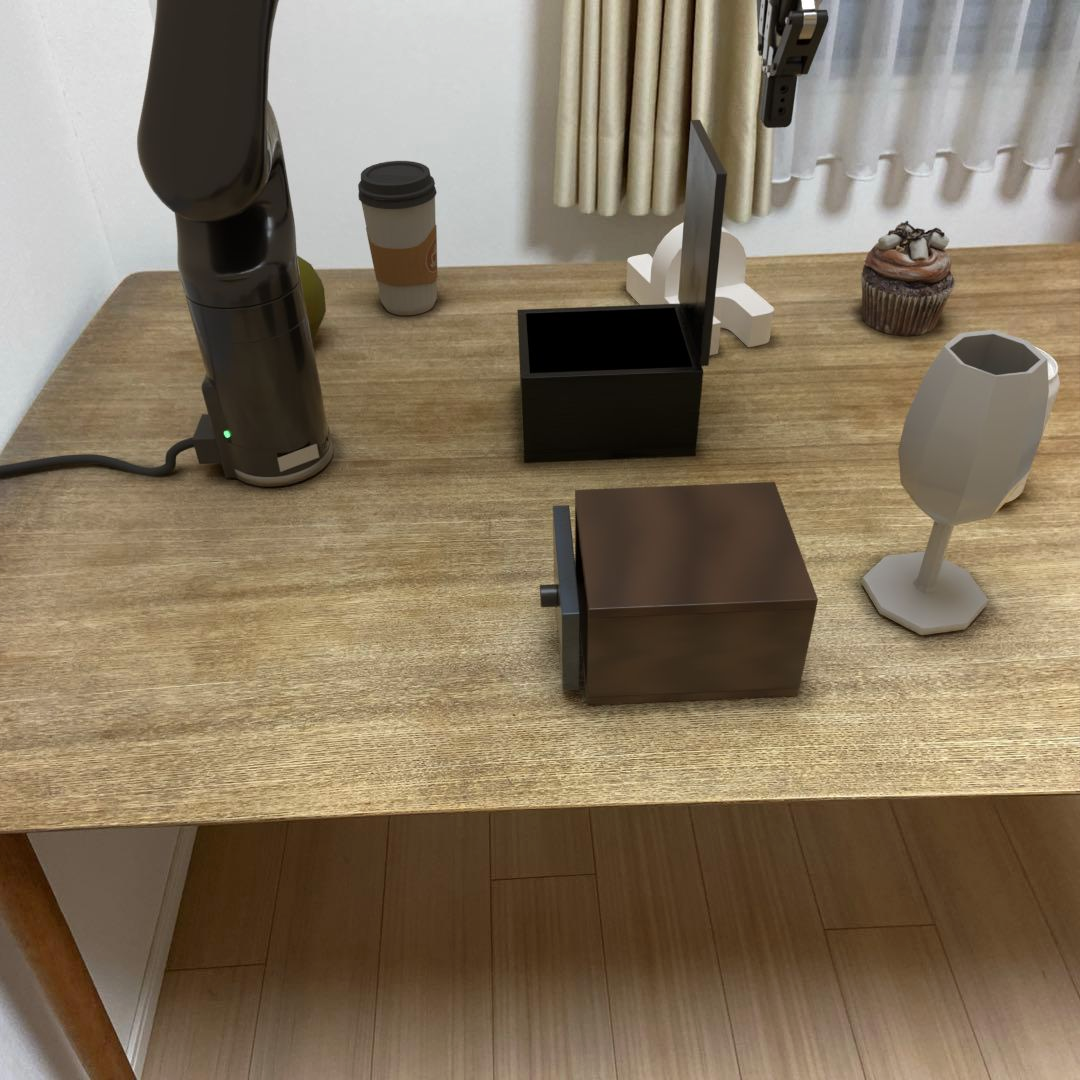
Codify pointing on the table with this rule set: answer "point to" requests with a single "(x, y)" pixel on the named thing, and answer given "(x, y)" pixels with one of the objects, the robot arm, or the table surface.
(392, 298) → the coffee cup
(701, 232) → the lid
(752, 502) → the drawer cabinet
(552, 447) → the metal box
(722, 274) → the white slotted bracket
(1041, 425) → the wineglass
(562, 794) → the table surface
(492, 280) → the table surface
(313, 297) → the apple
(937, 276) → the cupcake
